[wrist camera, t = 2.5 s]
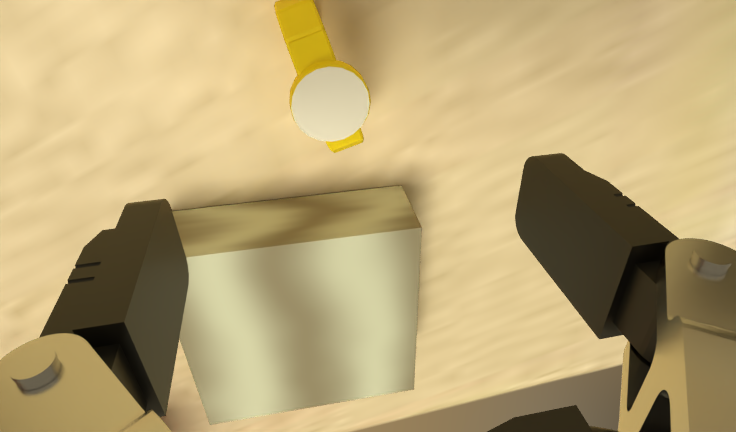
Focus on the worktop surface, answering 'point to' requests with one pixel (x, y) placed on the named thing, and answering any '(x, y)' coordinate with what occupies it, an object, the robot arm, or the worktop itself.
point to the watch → (321, 80)
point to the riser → (300, 301)
